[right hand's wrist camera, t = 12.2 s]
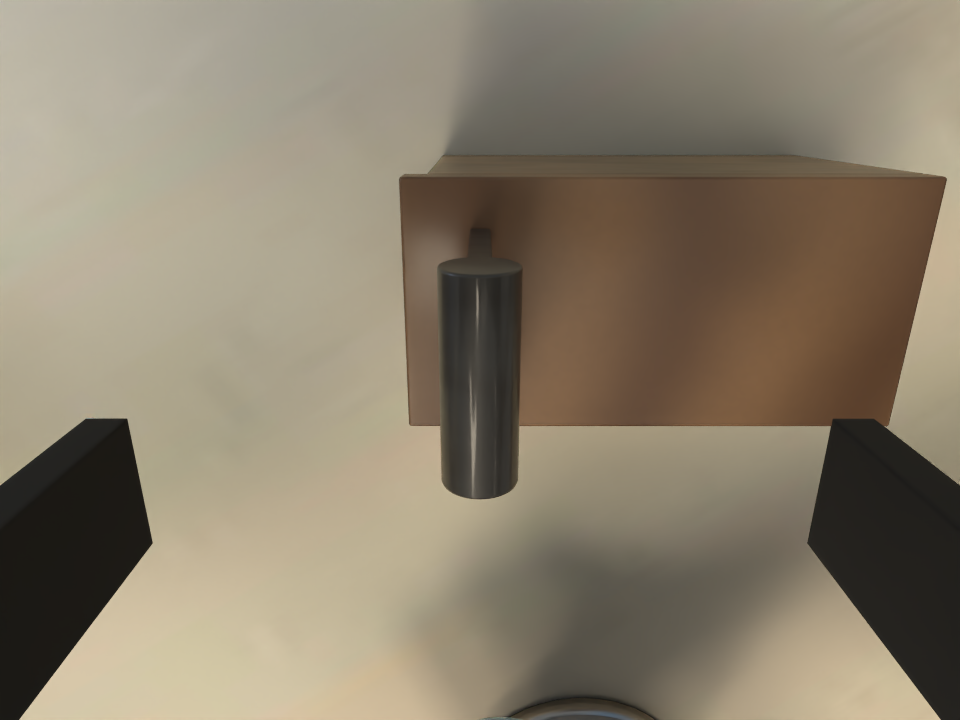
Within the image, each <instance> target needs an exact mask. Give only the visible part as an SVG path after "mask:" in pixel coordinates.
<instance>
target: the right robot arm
mask: <svg viewBox="0 0 960 720" xmlns="http://www.w3.org/2000/svg"><path fill="white" fill-rule="evenodd" d="M152 543H153V542H152V538H151V533H150V528H149V523H148V518H147V513H146V508H145V503H144V498H143V494H142V489H141V484H140V479H139V474H138V469H137V464H136V459H135V454H134V450H133V445H132V440H131V435H130V430H129V425H128V420H127V419H85V420H84V421H82V422H81V423H80V424H79V425H77V426H76V427H75V428H73V429H72V430H71V431H70V432H68V433H67V434H66V435H64V436H63V437H62V438H61V439H59V440H58V441H57V442H55V443H54V444H53V445H52V446H50V447H49V448H48V449H46V450H45V451H44V452H43V453H41V454H40V455H39V456H38V457H36V458H35V459H34V460H32V461H31V462H30V463H29V464H27V465H26V466H25V467H23V468H22V469H21V470H20V471H18V472H17V473H16V474H14V475H13V476H12V477H11V478H9V479H8V480H7V481H6V482H4V483H3V484H2V485H0V720H19V719H20V718H21V716H22V715H23V714H24V712H25V711H26V710H27V709H28V707H29V706H30V705H31V703H32V702H33V701H34V699H35V698H36V697H37V695H38V694H39V693H40V691H41V690H42V689H43V687H44V686H45V685H46V683H47V682H48V681H49V679H50V678H51V677H52V676H53V674H54V673H55V672H56V670H57V669H58V668H59V666H60V665H61V664H62V662H63V661H64V660H65V658H66V657H67V656H68V654H69V653H70V652H71V650H72V649H73V648H74V646H75V645H76V644H77V642H78V641H79V640H80V639H81V637H82V636H83V635H84V633H85V632H86V631H87V629H88V628H89V627H90V625H91V624H92V623H93V621H94V620H95V619H96V617H97V616H98V615H99V613H100V612H101V611H102V609H103V608H104V607H105V606H106V604H107V603H108V602H109V600H110V599H111V598H112V596H113V595H114V594H115V592H116V591H117V590H118V588H119V587H120V586H121V584H122V583H123V582H124V580H125V579H126V578H127V576H128V575H129V574H130V572H131V571H132V570H133V569H134V567H135V566H136V565H137V563H138V562H139V561H140V559H141V558H142V557H143V555H144V554H145V553H146V551H147V550H148V549H149V547H150V546H151V545H152ZM807 543H808V545H809V546H810V547H811V549H812V550H813V551H814V553H815V554H816V555H817V557H818V558H819V559H820V561H821V562H822V563H823V565H824V566H825V567H826V569H827V570H828V571H829V572H830V574H831V575H832V576H833V578H834V579H835V580H836V582H837V583H838V584H839V586H840V587H841V588H842V590H843V591H844V592H845V594H846V595H847V596H848V598H849V599H850V600H851V602H852V603H853V604H854V606H855V607H856V608H857V609H858V611H859V612H860V613H861V615H862V616H863V617H864V619H865V620H866V621H867V623H868V624H869V625H870V627H871V628H872V629H873V631H874V632H875V633H876V635H877V636H878V637H879V639H880V640H881V641H882V642H883V644H884V645H885V646H886V648H887V649H888V650H889V652H890V653H891V654H892V656H893V657H894V658H895V660H896V661H897V662H898V664H899V665H900V666H901V668H902V669H903V670H904V672H905V673H906V674H907V676H908V677H909V678H910V679H911V681H912V682H913V683H914V685H915V686H916V687H917V689H918V690H919V691H920V693H921V694H922V695H923V697H924V698H925V699H926V701H927V702H928V703H929V705H930V706H931V707H932V709H933V710H934V711H935V712H936V714H937V715H938V716H939V718H940V719H941V720H960V485H958V484H957V483H956V482H954V481H953V480H952V479H951V478H949V477H948V476H947V475H946V474H944V473H943V472H942V471H940V470H939V469H938V468H937V467H935V466H934V465H933V464H931V463H930V462H929V461H928V460H926V459H925V458H924V457H922V456H921V455H920V454H919V453H917V452H916V451H915V450H914V449H912V448H911V447H910V446H908V445H907V444H906V443H905V442H903V441H902V440H901V439H899V438H898V437H897V436H896V435H894V434H893V433H892V432H890V431H889V430H888V429H887V428H885V427H884V426H883V425H881V424H880V423H879V422H878V421H876V420H875V419H833V420H832V425H831V430H830V435H829V440H828V445H827V450H826V454H825V459H824V464H823V469H822V474H821V479H820V484H819V489H818V494H817V498H816V503H815V508H814V513H813V518H812V523H811V528H810V533H809V538H808V542H807Z"/></svg>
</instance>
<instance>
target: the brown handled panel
mask: <svg viewBox="0 0 960 720" xmlns="http://www.w3.org/2000/svg"><path fill="white" fill-rule="evenodd" d="M946 181H947V178H946V177H943V176H936V175H929V174H404V175H402V176H401V177H400V179H399V189H400V213H401V237H402V261H403V286H404V310H405V334H406V358H407V383H408V407H409V424H410V425H411V426H440V430H441V474H442V482H443V484H444V486H445V487H446V489H448V490H449V491H450V492H452V493H453V494H455V495H458V496H461V497H464V498H470V499H490V498H495V497H499V496H502V495H504V494H506V493H508V492H510V491H511V490H512V489H513V488H514V487H515V485H516V484H517V481H518V456H519V426H831V425H832V420H833V419H875V420H876V421H878V422H879V423H880V424H881V425H883V426H888V425H889V421H890V417H891V412H892V408H893V404H894V400H895V396H896V391H897V387H898V383H899V379H900V374H901V370H902V366H903V362H904V358H905V353H906V349H907V345H908V341H909V337H910V332H911V328H912V324H913V320H914V316H915V311H916V307H917V303H918V299H919V295H920V290H921V286H922V282H923V278H924V273H925V269H926V265H927V261H928V257H929V252H930V248H931V244H932V240H933V236H934V231H935V227H936V223H937V219H938V215H939V210H940V206H941V202H942V198H943V194H944V189H945V185H946Z"/></svg>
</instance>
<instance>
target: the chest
mask: <svg viewBox="0 0 960 720" xmlns="http://www.w3.org/2000/svg"><path fill="white" fill-rule="evenodd" d="M428 174H922V173H915V172H908V171H901V170H894V169H887V168H880V167H873V166H866V165H859V164H852V163H844V162H837V161H830V160H823V159H816V158H809V157H802V156H796V155H443V156H442V158H441V159H440V160H439V161H438V162H437V164H436V165H435V166H434V167H433V168H432V169H431V171H430V172H429V173H428Z"/></svg>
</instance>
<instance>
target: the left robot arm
mask: <svg viewBox="0 0 960 720" xmlns="http://www.w3.org/2000/svg"><path fill="white" fill-rule="evenodd" d="M479 720H654V719H653V718H652V717H650V716H648V715H647V714H645V713H643V712H641V711H639V710H637V709H635V708H632V707H630V706H627V705H624V704H620V703H617V702H613V701H607V700H601V699H591V698H573V699H563V700H556V701H551V702H547V703H543V704H539V705H536V706H533V707H530V708H528V709H525V710H523V711H521V712H519V713H517V714H515V715H513V716H511V717H491V718H484V719H479Z"/></svg>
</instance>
